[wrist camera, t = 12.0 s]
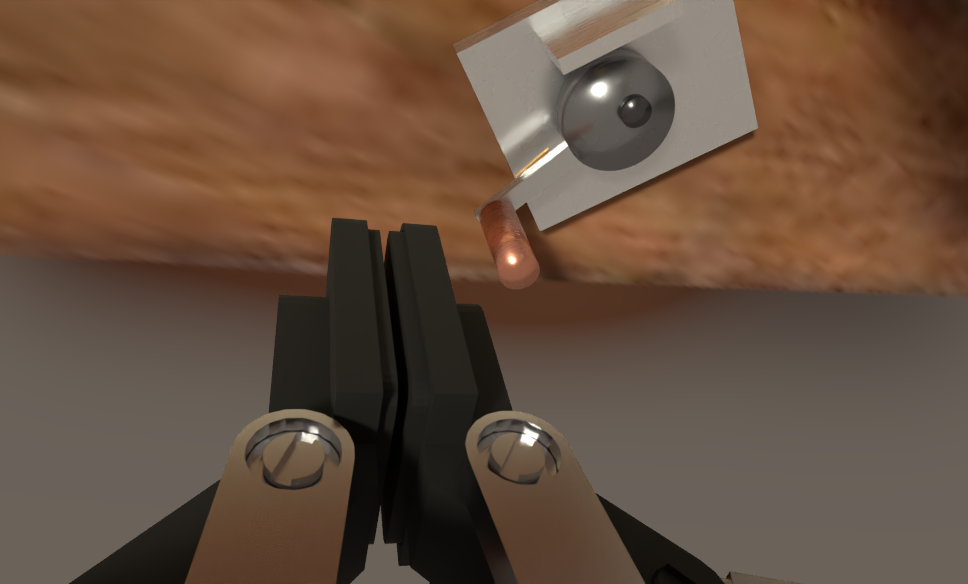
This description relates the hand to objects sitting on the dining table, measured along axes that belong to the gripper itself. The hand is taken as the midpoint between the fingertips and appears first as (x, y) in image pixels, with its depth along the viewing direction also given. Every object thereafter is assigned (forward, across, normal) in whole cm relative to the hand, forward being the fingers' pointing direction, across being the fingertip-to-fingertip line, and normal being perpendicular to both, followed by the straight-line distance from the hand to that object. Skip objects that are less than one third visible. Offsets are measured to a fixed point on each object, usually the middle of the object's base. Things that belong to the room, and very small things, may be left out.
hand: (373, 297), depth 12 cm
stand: (+27, -15, +4) cm, 31 cm away
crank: (+25, -13, +7) cm, 29 cm away
